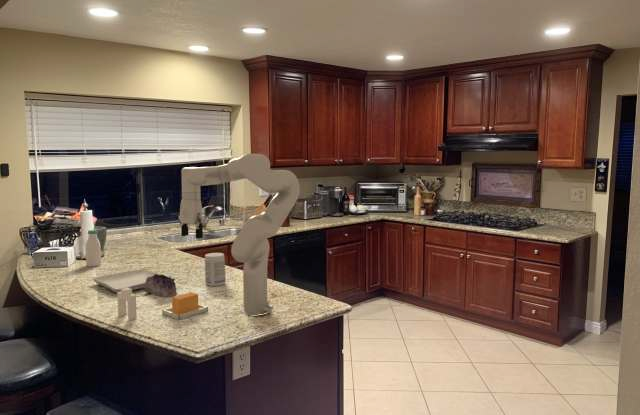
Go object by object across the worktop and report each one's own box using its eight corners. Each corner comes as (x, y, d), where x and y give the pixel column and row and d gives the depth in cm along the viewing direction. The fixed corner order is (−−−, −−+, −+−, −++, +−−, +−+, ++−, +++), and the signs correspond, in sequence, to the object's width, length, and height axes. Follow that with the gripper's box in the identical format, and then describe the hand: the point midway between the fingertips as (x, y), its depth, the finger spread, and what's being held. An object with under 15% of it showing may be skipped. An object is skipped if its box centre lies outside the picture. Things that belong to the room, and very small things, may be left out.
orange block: (198, 310, 194) (198, 294, 193) (179, 315, 187) (178, 299, 186) (191, 307, 197) (191, 292, 196) (172, 313, 190) (171, 297, 189)
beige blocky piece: (136, 318, 185) (135, 290, 183) (129, 320, 182) (128, 291, 181) (124, 313, 190) (123, 286, 189) (118, 315, 188) (117, 287, 186)
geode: (187, 297, 218) (184, 276, 215) (162, 305, 210) (159, 284, 208) (166, 286, 232) (163, 266, 230) (142, 293, 225) (139, 273, 222)
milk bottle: (104, 265, 277) (102, 230, 275) (91, 267, 271) (90, 231, 269) (96, 263, 281) (94, 229, 279) (83, 265, 275) (81, 230, 273)
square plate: (90, 285, 236) (90, 277, 236) (144, 275, 256) (144, 268, 256) (115, 296, 218) (115, 288, 217) (171, 285, 238) (171, 277, 237)
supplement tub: (226, 281, 244) (226, 252, 242) (223, 286, 235) (223, 256, 233) (207, 281, 244) (206, 252, 242) (203, 286, 234) (202, 256, 233)
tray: (208, 311, 194) (208, 306, 194) (178, 320, 183) (178, 315, 183) (191, 306, 200) (191, 301, 200) (162, 314, 190) (162, 309, 190)
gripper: (171, 196, 207) (172, 235, 209) (196, 198, 197) (197, 240, 198) (186, 194, 213) (187, 233, 215) (211, 197, 202) (212, 238, 204)
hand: (192, 236), depth 207 cm, fingers open, 9 cm apart
